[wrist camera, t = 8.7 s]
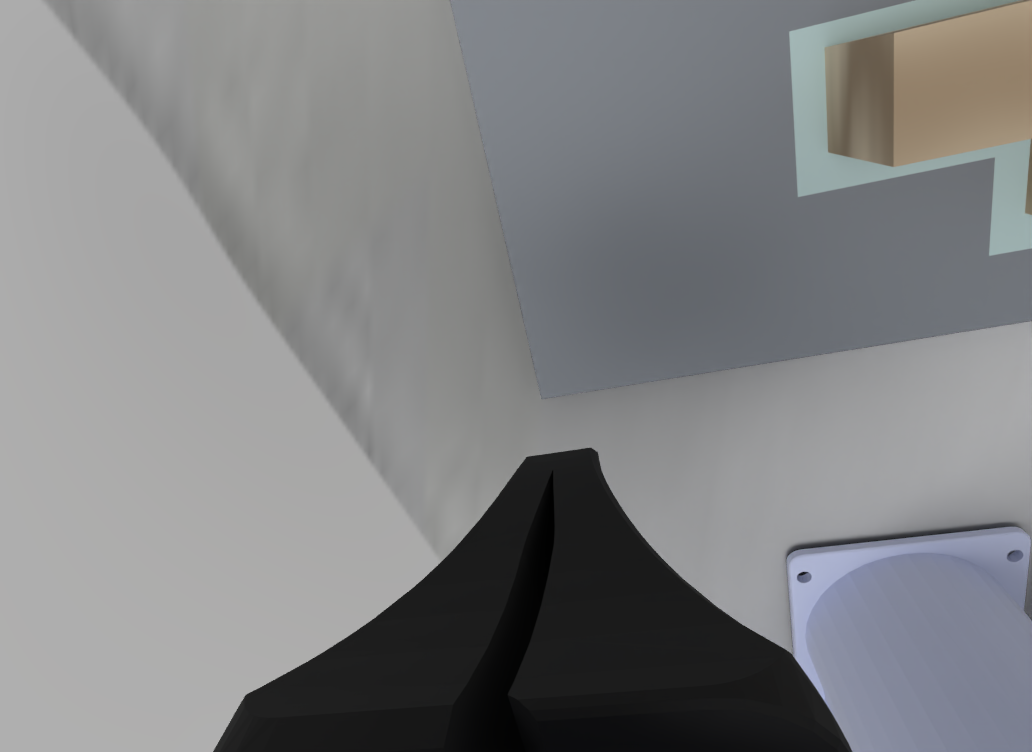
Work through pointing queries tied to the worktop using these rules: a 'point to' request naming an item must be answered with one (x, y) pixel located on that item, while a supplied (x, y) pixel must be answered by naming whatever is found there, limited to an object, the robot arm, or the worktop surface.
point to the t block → (934, 89)
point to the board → (722, 190)
